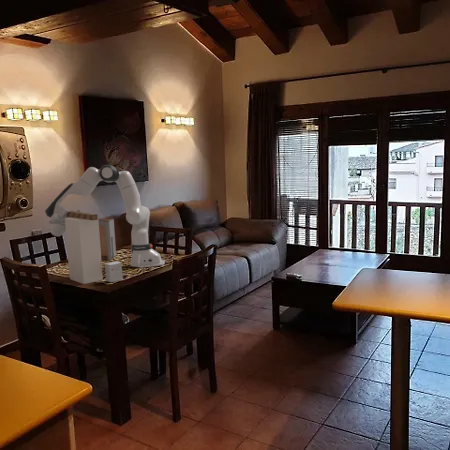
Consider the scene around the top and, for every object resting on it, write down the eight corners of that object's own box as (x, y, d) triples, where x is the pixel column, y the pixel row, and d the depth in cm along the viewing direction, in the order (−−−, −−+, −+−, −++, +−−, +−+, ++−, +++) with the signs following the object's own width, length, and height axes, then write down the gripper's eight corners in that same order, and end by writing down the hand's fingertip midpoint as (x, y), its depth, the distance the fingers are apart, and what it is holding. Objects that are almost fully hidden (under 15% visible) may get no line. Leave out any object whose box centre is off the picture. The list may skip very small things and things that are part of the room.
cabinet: (98, 256, 347) (95, 218, 343) (110, 254, 352) (108, 217, 348) (109, 260, 330) (106, 221, 326) (122, 258, 336) (119, 219, 332)
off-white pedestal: (69, 279, 283) (64, 218, 277) (88, 275, 291) (83, 215, 285) (84, 284, 270) (78, 220, 264) (102, 279, 278) (98, 217, 272)
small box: (118, 278, 280) (117, 261, 279) (122, 279, 276) (121, 262, 275) (106, 280, 275) (104, 263, 274) (110, 282, 271) (109, 264, 270)
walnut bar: (67, 216, 285) (66, 211, 284) (71, 215, 287) (71, 211, 286) (93, 220, 262) (92, 215, 261) (97, 219, 264) (97, 214, 263)
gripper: (46, 219, 286) (53, 208, 276) (77, 215, 300) (85, 205, 290) (49, 228, 284) (56, 218, 275) (80, 224, 298) (89, 214, 289)
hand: (72, 211), depth 282 cm, fingers open, 8 cm apart
